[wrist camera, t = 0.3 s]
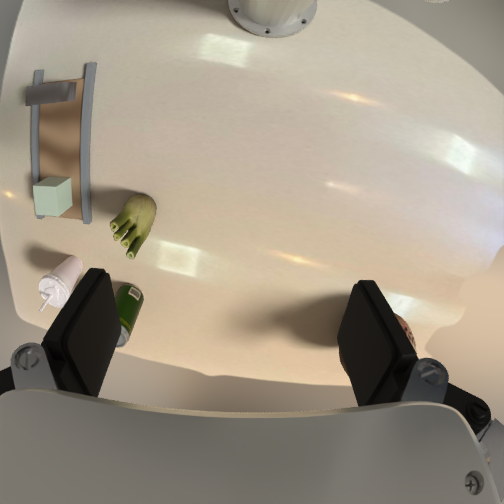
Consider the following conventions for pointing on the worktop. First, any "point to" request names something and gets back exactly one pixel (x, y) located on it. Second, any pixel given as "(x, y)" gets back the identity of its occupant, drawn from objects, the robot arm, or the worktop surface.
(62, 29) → the worktop surface
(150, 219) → the fennel bulb
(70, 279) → the smoothie
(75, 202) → the strip
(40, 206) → the block
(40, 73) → the lane rails
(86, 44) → the worktop surface
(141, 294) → the beer can
